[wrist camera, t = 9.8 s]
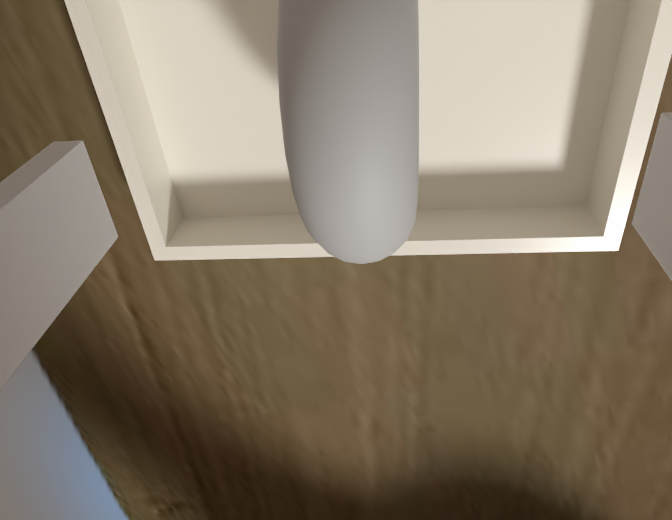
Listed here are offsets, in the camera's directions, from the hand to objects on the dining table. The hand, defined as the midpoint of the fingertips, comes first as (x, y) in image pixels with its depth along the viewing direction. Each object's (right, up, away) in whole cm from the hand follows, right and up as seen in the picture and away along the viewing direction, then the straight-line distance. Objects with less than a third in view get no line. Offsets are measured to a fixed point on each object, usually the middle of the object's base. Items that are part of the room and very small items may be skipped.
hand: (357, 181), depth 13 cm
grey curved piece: (+1, +6, +7) cm, 10 cm away
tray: (+1, +6, +8) cm, 10 cm away
